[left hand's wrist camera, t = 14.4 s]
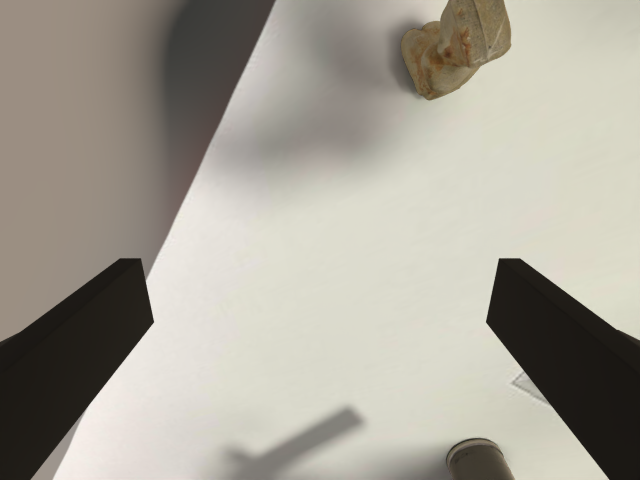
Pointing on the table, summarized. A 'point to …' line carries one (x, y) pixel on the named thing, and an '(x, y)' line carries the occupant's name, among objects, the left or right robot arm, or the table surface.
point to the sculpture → (456, 45)
